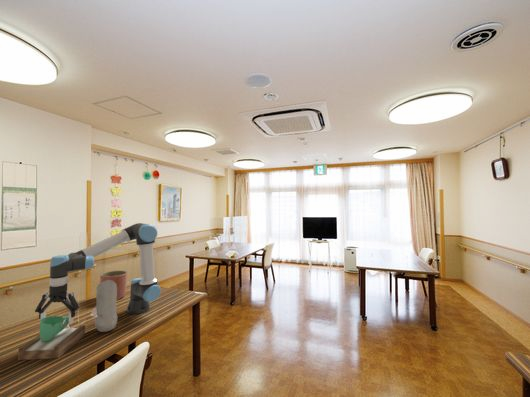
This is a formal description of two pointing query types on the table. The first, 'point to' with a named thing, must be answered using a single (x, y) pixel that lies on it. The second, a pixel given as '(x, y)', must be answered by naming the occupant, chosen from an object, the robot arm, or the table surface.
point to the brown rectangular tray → (51, 345)
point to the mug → (52, 326)
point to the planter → (116, 281)
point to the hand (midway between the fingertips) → (57, 324)
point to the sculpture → (106, 306)
